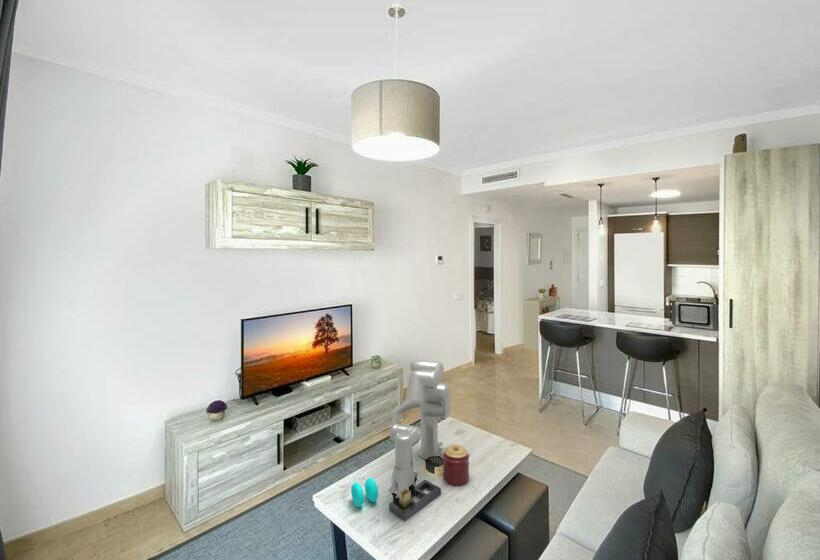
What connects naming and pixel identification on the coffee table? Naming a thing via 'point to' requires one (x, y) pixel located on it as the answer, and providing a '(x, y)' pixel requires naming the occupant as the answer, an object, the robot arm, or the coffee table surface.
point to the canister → (456, 465)
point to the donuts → (359, 494)
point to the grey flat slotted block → (418, 505)
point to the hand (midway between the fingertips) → (404, 499)
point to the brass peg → (404, 499)
